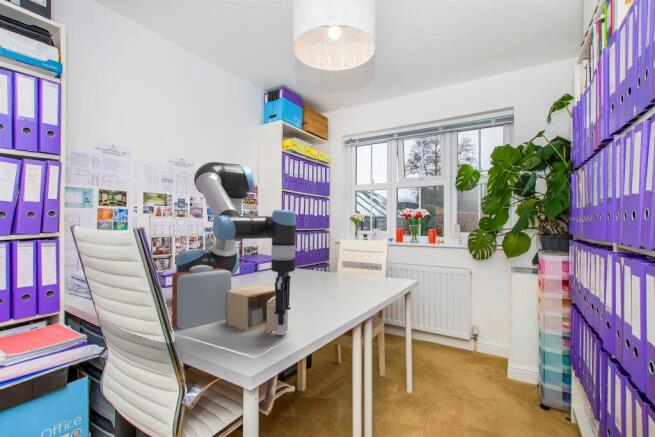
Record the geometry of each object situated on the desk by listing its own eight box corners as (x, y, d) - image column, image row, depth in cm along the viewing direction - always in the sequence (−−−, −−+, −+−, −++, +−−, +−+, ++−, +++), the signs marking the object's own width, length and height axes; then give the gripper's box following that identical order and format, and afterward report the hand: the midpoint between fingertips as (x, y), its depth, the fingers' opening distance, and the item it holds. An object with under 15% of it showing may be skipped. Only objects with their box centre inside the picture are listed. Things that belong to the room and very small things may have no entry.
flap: (265, 334, 99) (265, 302, 99) (279, 319, 114) (280, 291, 114) (283, 335, 98) (283, 303, 98) (295, 320, 113) (295, 292, 113)
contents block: (242, 323, 110) (242, 309, 110) (252, 319, 115) (252, 305, 115) (252, 325, 108) (252, 311, 108) (262, 321, 112) (262, 307, 112)
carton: (226, 324, 111) (226, 290, 111) (258, 315, 121) (258, 284, 121) (246, 332, 103) (246, 296, 103) (278, 322, 114) (278, 289, 114)
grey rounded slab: (221, 314, 123) (221, 262, 123) (232, 319, 116) (232, 264, 116) (171, 325, 110) (171, 267, 110) (180, 332, 103) (180, 270, 103)
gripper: (290, 261, 91) (289, 342, 91) (298, 255, 107) (297, 324, 107) (265, 261, 92) (264, 341, 92) (277, 255, 107) (276, 324, 107)
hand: (282, 332), depth 99 cm, fingers closed on flap, 3 cm apart
